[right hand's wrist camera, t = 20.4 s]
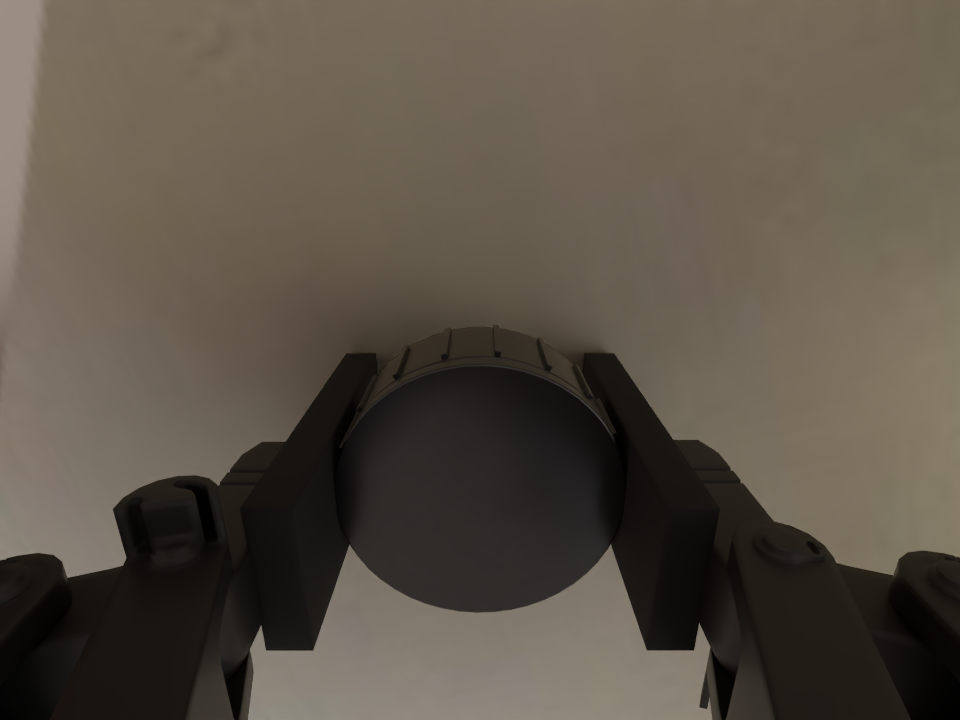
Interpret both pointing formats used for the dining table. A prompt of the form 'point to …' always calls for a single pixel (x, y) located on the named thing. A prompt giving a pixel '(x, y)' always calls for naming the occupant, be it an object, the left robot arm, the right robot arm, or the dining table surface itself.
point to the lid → (480, 472)
